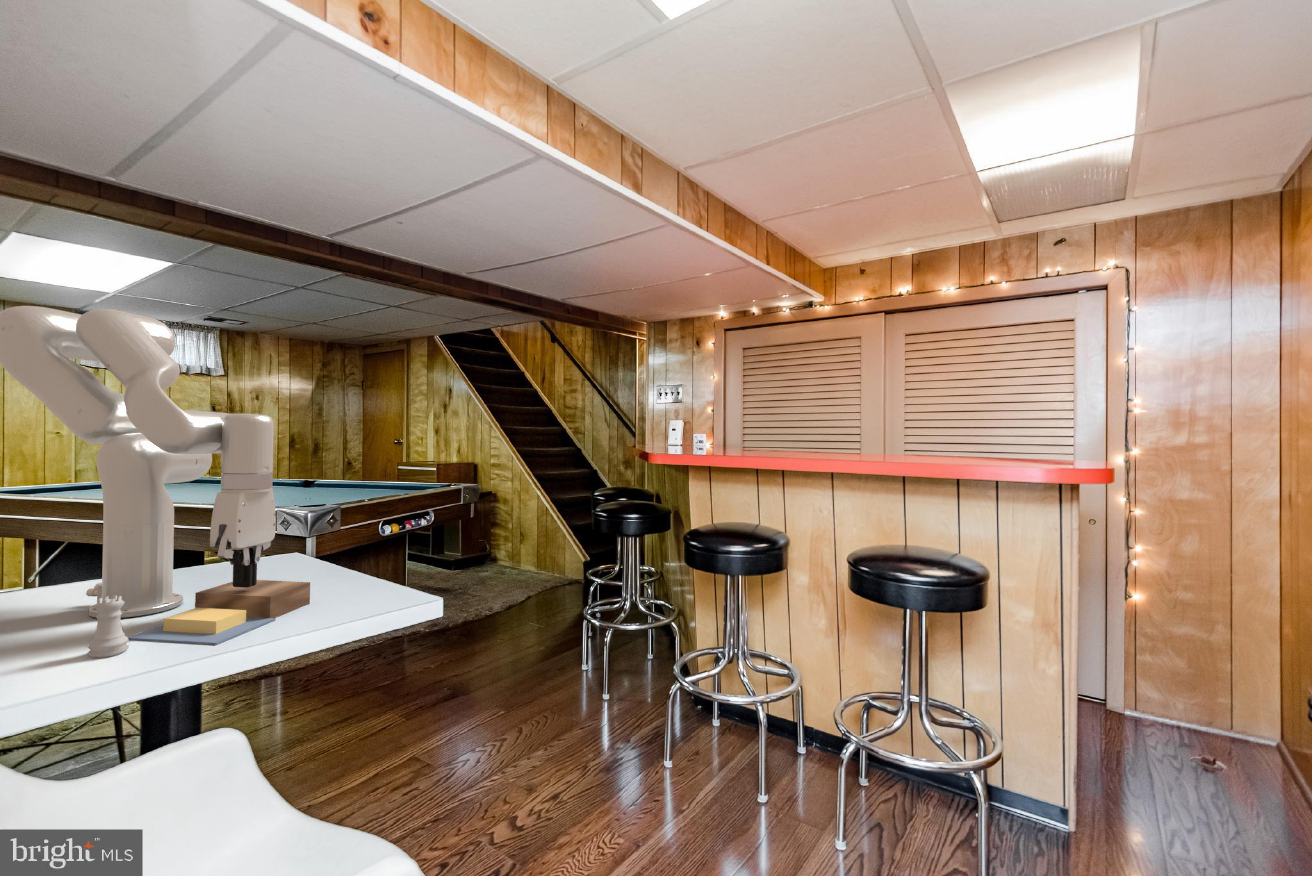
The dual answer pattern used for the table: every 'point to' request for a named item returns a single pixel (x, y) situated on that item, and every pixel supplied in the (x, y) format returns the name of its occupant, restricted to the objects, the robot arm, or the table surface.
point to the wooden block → (257, 598)
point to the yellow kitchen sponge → (204, 620)
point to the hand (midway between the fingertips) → (244, 585)
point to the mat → (201, 638)
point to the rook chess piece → (108, 629)
